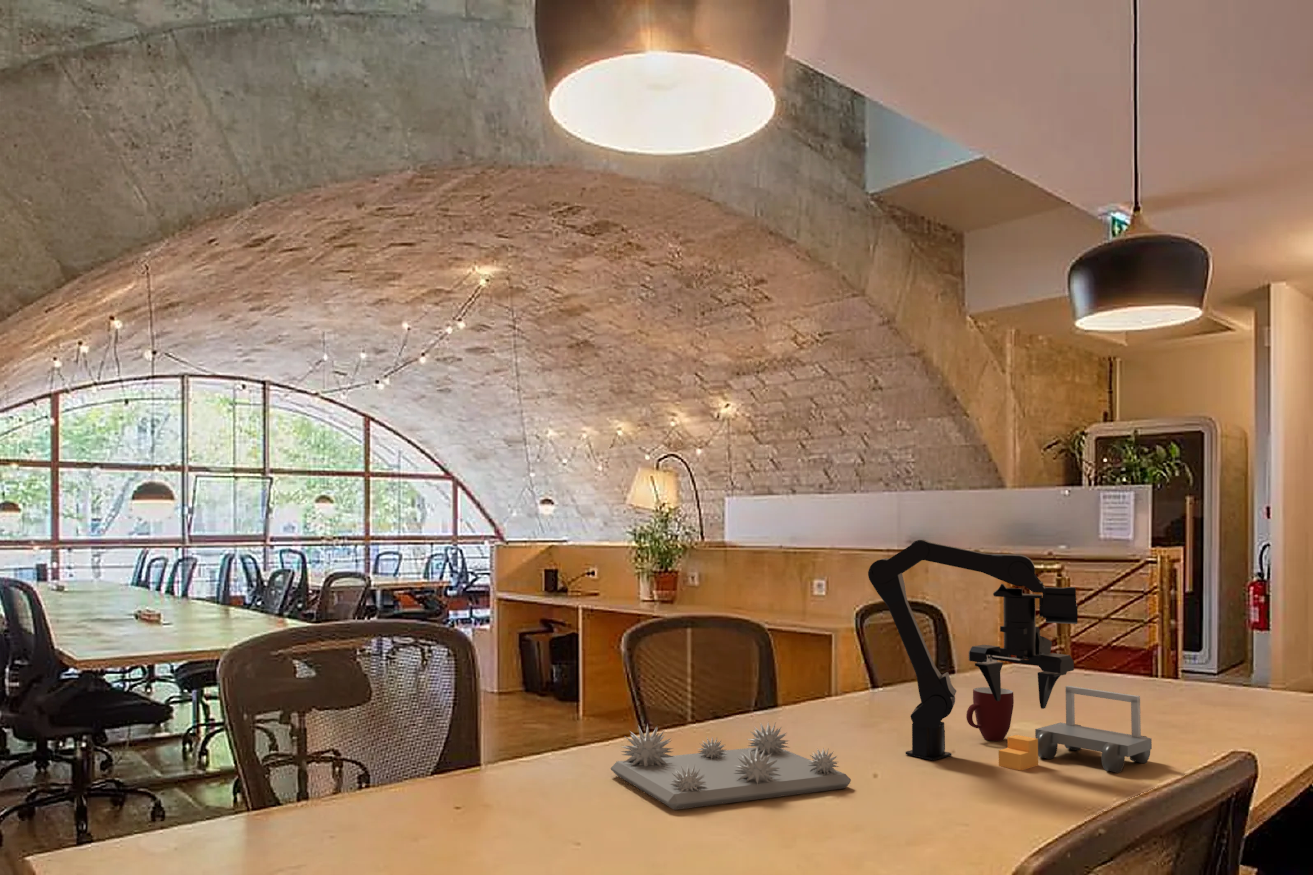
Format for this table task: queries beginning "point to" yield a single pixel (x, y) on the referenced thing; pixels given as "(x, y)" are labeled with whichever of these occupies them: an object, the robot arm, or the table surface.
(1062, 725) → the trolley
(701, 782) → the decorative tray
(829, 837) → the table surface
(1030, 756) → the orange stair block
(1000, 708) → the mug
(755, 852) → the table surface
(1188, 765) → the table surface
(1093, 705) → the table surface
